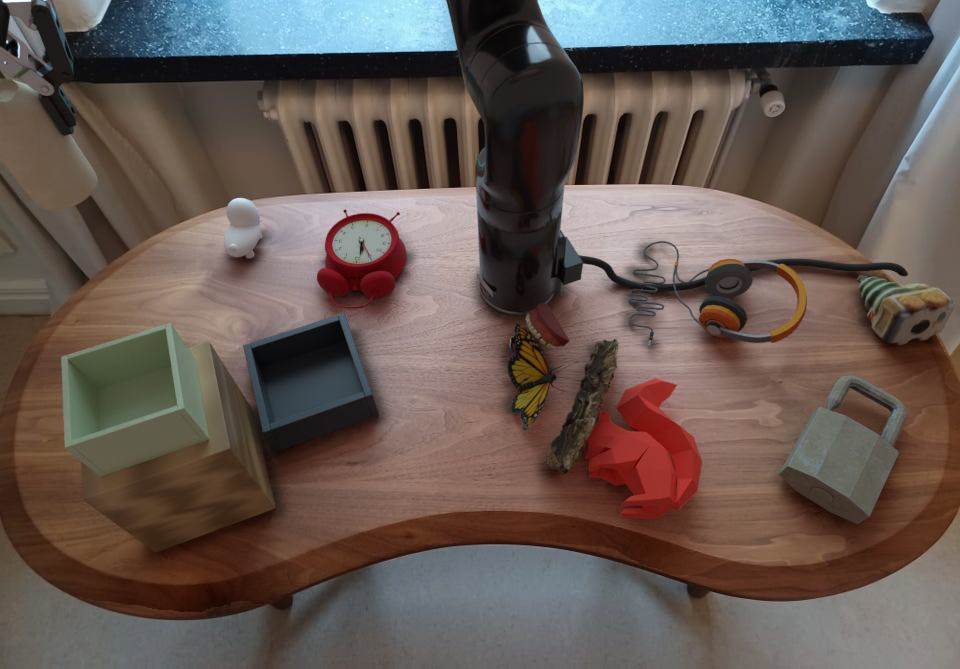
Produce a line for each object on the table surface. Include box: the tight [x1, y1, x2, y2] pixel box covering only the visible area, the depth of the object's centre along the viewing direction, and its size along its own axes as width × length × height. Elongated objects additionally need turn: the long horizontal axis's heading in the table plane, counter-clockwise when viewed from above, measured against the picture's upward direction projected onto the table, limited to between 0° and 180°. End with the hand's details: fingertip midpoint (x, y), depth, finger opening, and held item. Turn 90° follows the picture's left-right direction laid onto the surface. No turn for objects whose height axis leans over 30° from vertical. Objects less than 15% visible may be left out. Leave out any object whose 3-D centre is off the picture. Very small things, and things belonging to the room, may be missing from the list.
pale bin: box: [60, 322, 209, 477], centre depth 57 cm, size 9×9×6 cm
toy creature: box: [223, 197, 264, 259], centre depth 87 cm, size 5×8×6 cm, turn 173°
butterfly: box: [507, 323, 581, 432], centre depth 72 cm, size 12×9×5 cm
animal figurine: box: [584, 377, 703, 520], centre depth 69 cm, size 12×15×5 cm
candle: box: [0, 78, 99, 211], centre depth 55 cm, size 6×6×10 cm
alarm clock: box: [316, 208, 408, 310], centre depth 84 cm, size 10×6×15 cm
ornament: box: [856, 274, 955, 346], centre depth 78 cm, size 8×6×10 cm
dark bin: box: [242, 312, 380, 453], centre depth 74 cm, size 12×12×5 cm
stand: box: [80, 340, 277, 553], centre depth 65 cm, size 12×12×14 cm
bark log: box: [542, 338, 620, 474], centre depth 71 cm, size 18×5×7 cm, turn 157°
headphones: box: [628, 240, 808, 348], centre depth 79 cm, size 17×5×20 cm
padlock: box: [778, 375, 908, 525], centre depth 69 cm, size 4×8×15 cm
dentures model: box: [508, 303, 570, 370], centre depth 75 cm, size 6×4×8 cm
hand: (29, 138), depth 54 cm, fingers closed on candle, 5 cm apart
